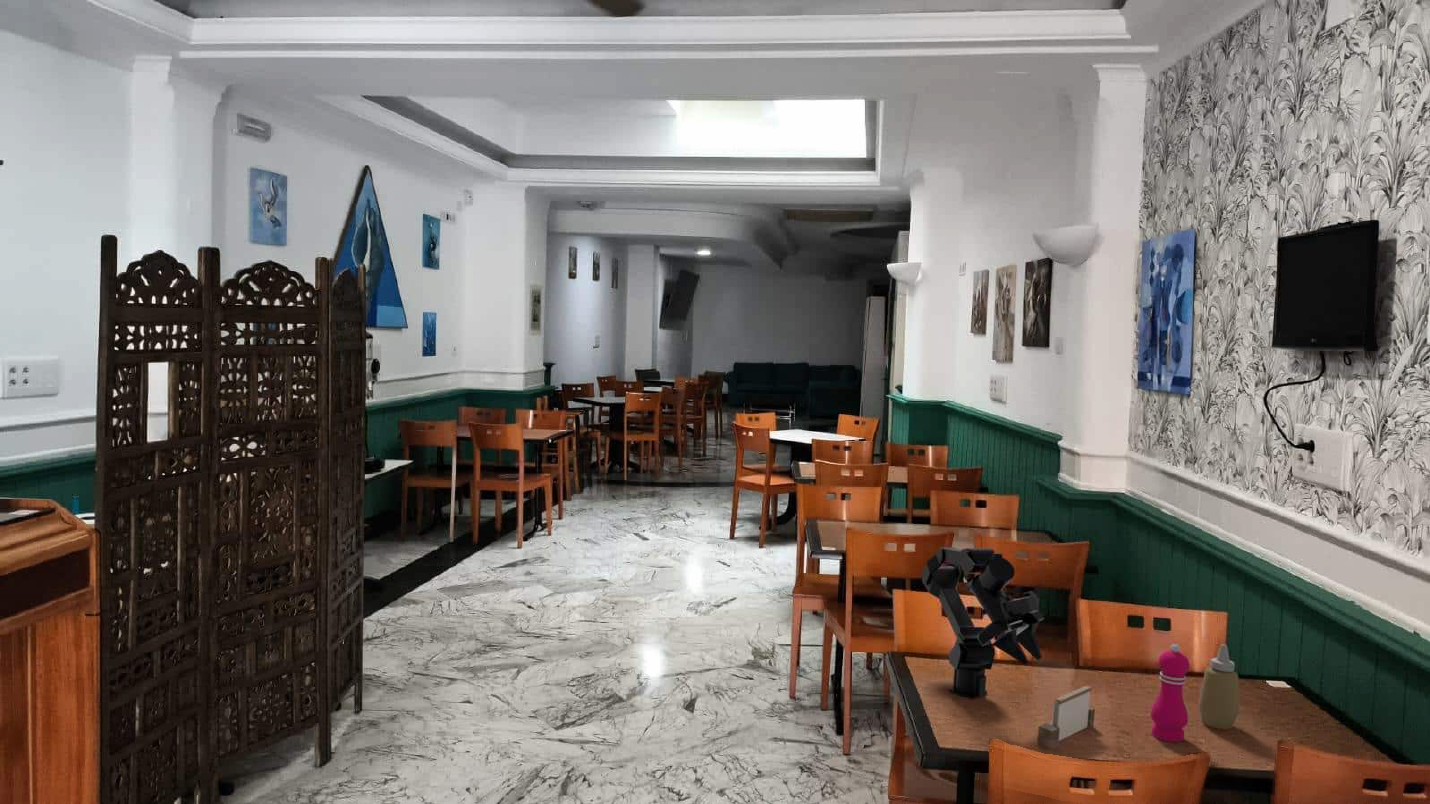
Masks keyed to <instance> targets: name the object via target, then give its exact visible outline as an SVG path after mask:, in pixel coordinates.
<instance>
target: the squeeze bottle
mask: <svg viewBox="0 0 1430 804" xmlns="http://www.w3.org/2000/svg"><path fill="white" fill-rule="evenodd" d="M1209 665H1210V666H1209V667H1207V668H1206V669H1204V675H1203V678H1202V679H1203V680H1202V683H1201V689H1200V693H1199V698H1198V699H1199V700H1198V709H1199V713H1200V718H1201V720H1202V723H1203V724H1205V725H1206V726H1208V727H1211V728H1214V729H1219V730H1229V729H1232V728H1233V726H1234V724H1235V722H1236V721H1237V718H1238V717H1239V714H1240V696H1239V695H1240V689H1239V686H1240V685H1239V684H1240V683H1239V675H1238V673H1236V672H1235V667H1236V666H1235V665H1236V664H1235V662H1234V661H1232V660H1230V655H1229V649H1228V645H1227V644H1225V643H1224V644H1223V643H1222V644H1221V645H1220V648H1219V650H1218V653H1217V655H1216V657H1213V658H1211V659H1210V664H1209Z"/></svg>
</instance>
